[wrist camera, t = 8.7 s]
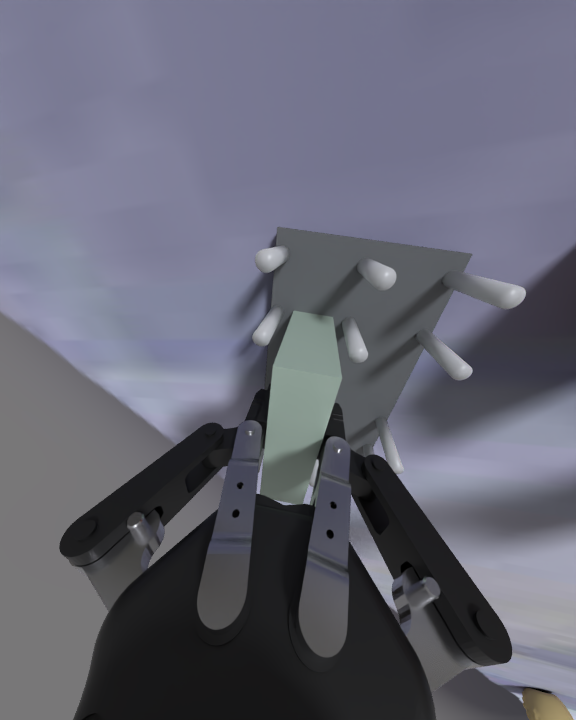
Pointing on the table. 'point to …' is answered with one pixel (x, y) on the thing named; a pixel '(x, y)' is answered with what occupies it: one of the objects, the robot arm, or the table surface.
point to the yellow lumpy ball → (544, 706)
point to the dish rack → (370, 317)
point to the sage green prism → (299, 405)
